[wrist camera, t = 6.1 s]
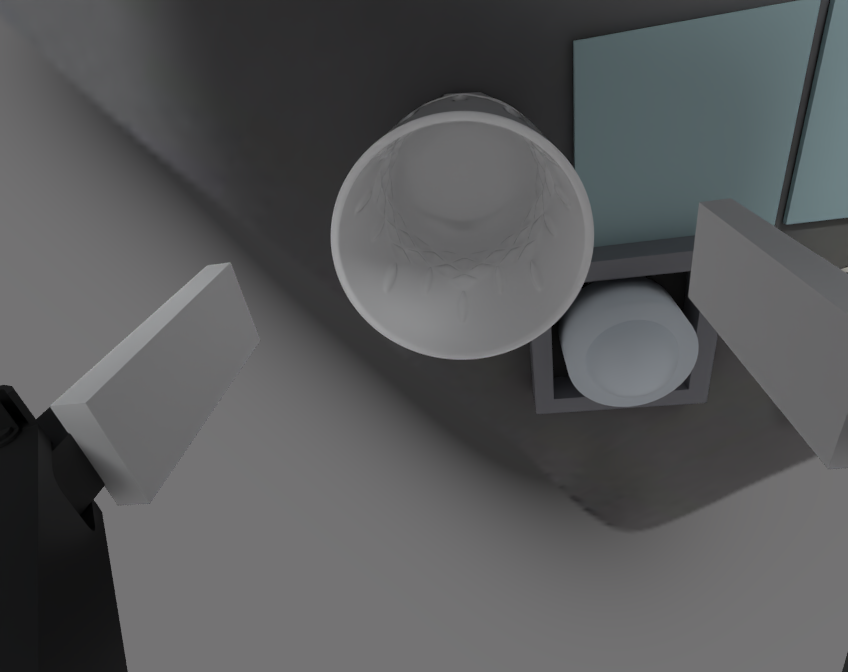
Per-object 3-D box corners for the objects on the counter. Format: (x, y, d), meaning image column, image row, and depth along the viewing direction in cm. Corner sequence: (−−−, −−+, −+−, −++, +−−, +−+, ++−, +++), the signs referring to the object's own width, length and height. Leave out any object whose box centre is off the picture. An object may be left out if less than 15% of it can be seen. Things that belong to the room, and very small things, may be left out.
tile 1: (572, 40, 20) (574, 41, 20) (817, -4, 19) (821, -4, 19) (574, 246, 25) (575, 249, 25) (771, 223, 24) (774, 226, 23)
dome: (556, 281, 25) (572, 329, 22) (682, 268, 25) (722, 315, 21) (559, 376, 29) (573, 433, 25) (671, 367, 28) (704, 425, 24)
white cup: (583, 122, 22) (652, 185, 14) (501, 271, 26) (514, 391, 18) (417, 43, 21) (380, 58, 13) (359, 212, 25) (301, 308, 17)
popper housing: (523, 253, 25) (527, 269, 24) (714, 230, 24) (732, 246, 22) (532, 392, 30) (536, 414, 28) (692, 380, 29) (706, 402, 27)
